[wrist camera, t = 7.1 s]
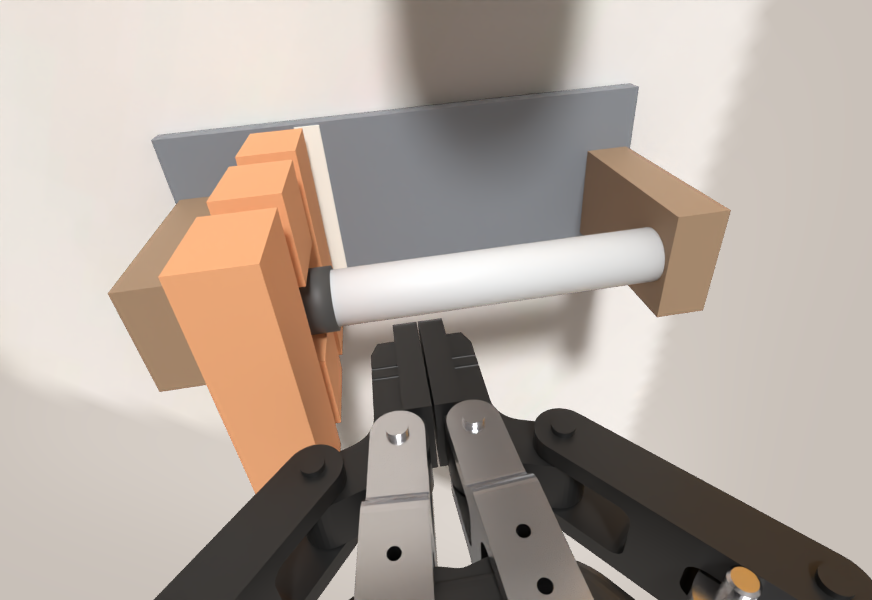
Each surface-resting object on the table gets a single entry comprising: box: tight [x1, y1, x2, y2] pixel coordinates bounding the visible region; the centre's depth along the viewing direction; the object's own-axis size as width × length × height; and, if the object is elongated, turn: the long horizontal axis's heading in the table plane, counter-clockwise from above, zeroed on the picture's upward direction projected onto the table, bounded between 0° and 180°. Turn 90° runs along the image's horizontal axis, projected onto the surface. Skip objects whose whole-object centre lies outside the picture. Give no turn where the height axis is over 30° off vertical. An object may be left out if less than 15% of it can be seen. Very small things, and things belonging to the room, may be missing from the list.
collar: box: [158, 128, 343, 494], centre depth 17 cm, size 2×9×11 cm, turn 5°
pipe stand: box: [108, 84, 731, 392], centre depth 20 cm, size 20×9×8 cm, turn 95°
